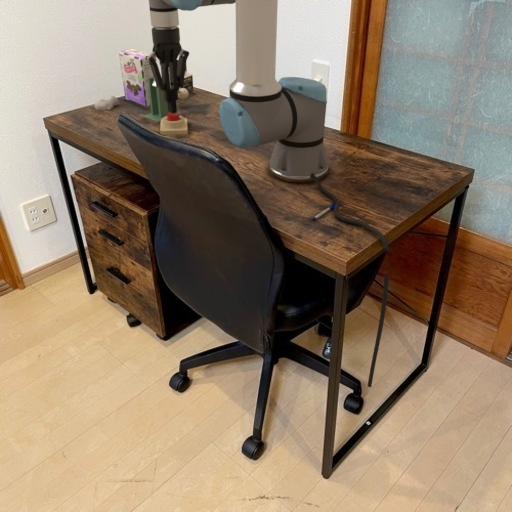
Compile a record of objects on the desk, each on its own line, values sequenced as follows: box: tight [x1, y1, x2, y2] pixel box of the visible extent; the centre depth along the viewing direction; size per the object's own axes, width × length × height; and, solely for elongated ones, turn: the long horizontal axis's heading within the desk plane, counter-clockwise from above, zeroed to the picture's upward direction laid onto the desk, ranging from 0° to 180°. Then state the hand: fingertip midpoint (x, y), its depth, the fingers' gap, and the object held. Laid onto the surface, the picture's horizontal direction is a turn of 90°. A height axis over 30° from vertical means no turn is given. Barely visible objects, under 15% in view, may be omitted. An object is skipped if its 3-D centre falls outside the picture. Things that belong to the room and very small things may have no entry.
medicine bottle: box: [169, 58, 194, 94], centre depth 187 cm, size 7×7×12 cm
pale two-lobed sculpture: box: [93, 95, 119, 112], centre depth 175 cm, size 4×8×5 cm
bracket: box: [141, 76, 182, 123], centre depth 166 cm, size 10×8×13 cm
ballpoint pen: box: [311, 201, 341, 221], centre depth 119 cm, size 10×1×1 cm, turn 141°
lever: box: [152, 79, 190, 101], centre depth 168 cm, size 14×4×4 cm, turn 138°
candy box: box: [118, 48, 153, 107], centre depth 178 cm, size 14×6×16 cm, turn 42°
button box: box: [159, 115, 189, 136], centre depth 159 cm, size 10×8×4 cm
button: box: [167, 112, 180, 121], centre depth 158 cm, size 4×4×2 cm
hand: (172, 111), depth 157 cm, fingers closed
